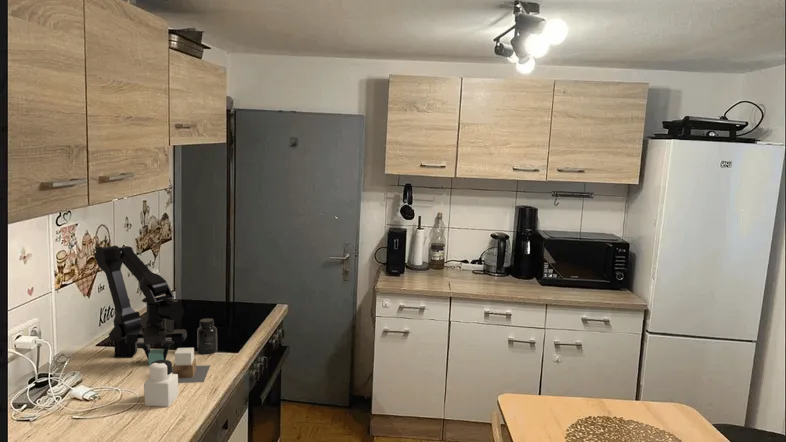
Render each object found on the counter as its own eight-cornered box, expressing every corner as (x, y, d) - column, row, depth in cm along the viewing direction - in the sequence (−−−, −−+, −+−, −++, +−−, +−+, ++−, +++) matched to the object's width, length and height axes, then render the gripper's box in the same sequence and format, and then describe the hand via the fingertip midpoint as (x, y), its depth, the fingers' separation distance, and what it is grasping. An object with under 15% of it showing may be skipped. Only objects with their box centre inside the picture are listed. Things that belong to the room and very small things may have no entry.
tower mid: (174, 365, 185) (174, 353, 185) (178, 359, 190) (177, 348, 189) (191, 364, 186) (191, 353, 185) (194, 359, 191) (193, 347, 190)
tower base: (173, 378, 185) (173, 366, 185) (177, 370, 191) (176, 359, 190) (192, 377, 186) (192, 365, 186) (196, 370, 192) (195, 358, 191)
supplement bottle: (220, 349, 213) (219, 317, 211) (212, 356, 206) (212, 323, 204) (202, 348, 213) (201, 316, 212) (194, 355, 207) (193, 322, 205)
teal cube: (148, 366, 195) (148, 353, 194) (152, 361, 199) (151, 349, 199) (162, 366, 196) (162, 353, 195) (165, 361, 200) (165, 348, 199)
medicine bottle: (155, 395, 173) (154, 357, 172) (178, 396, 173) (177, 357, 171) (144, 406, 166) (142, 366, 164) (168, 407, 166) (167, 367, 164)
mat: (157, 385, 181) (157, 383, 180) (167, 367, 194) (167, 366, 194) (203, 383, 183) (203, 381, 183) (210, 366, 197) (210, 365, 196)
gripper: (119, 324, 186) (121, 370, 188) (180, 322, 189) (181, 368, 191) (129, 314, 197) (130, 358, 199) (186, 312, 200) (187, 356, 202)
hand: (157, 360), depth 197 cm, fingers closed on teal cube, 4 cm apart
